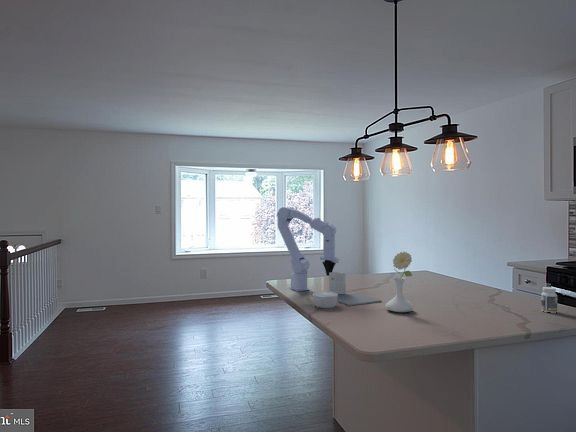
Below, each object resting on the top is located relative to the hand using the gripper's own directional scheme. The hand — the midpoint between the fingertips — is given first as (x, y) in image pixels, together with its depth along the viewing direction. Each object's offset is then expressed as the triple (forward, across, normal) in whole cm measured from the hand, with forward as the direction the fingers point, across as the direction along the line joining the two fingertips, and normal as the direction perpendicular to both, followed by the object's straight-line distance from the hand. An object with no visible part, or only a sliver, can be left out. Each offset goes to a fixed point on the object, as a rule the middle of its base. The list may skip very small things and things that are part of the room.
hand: (329, 275), depth 205 cm
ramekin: (+9, -24, +17) cm, 31 cm away
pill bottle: (+9, -73, -61) cm, 96 cm away
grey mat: (+8, -20, -1) cm, 22 cm away
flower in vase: (+9, -46, -6) cm, 47 cm away
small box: (+8, -8, 0) cm, 11 cm away
